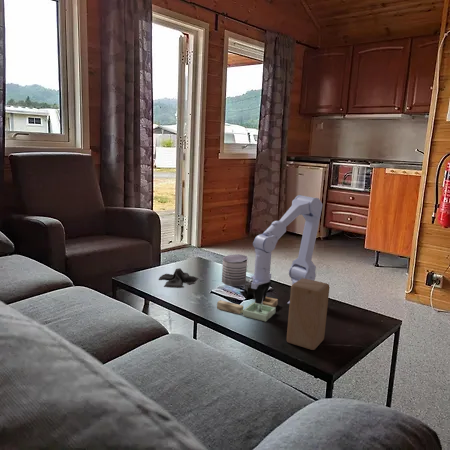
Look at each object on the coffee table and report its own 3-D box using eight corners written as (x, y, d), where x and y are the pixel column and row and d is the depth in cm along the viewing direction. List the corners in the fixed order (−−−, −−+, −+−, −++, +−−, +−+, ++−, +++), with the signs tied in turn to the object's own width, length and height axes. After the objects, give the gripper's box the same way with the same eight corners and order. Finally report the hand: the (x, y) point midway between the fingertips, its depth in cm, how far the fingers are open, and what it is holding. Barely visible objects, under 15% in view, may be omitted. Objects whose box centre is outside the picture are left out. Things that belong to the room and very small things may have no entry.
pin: (263, 310, 159) (264, 292, 157) (260, 312, 156) (262, 293, 155) (257, 309, 160) (258, 290, 158) (254, 311, 158) (256, 292, 156)
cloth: (169, 291, 179) (169, 277, 178) (150, 278, 194) (150, 266, 192) (212, 283, 191) (213, 270, 190) (192, 272, 206) (192, 260, 205)
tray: (275, 313, 160) (275, 307, 160) (266, 321, 152) (266, 315, 152) (252, 307, 164) (253, 302, 164) (242, 315, 156) (243, 310, 156)
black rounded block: (261, 301, 173) (262, 291, 172) (245, 302, 171) (245, 291, 170) (251, 290, 185) (252, 280, 184) (236, 291, 183) (236, 281, 182)
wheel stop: (243, 312, 159) (243, 305, 159) (240, 314, 157) (240, 307, 157) (219, 306, 164) (220, 300, 163) (216, 308, 162) (217, 302, 161)
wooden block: (314, 352, 131) (320, 291, 128) (284, 342, 137) (290, 284, 133) (324, 340, 140) (330, 283, 136) (296, 332, 145) (301, 276, 141)
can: (248, 286, 189) (249, 260, 187) (223, 286, 187) (224, 260, 185) (243, 278, 200) (245, 253, 198) (220, 277, 198) (221, 253, 196)
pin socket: (277, 304, 169) (277, 299, 168) (271, 310, 162) (271, 304, 162) (261, 301, 172) (261, 295, 171) (254, 306, 165) (254, 300, 165)
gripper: (260, 260, 163) (257, 293, 165) (244, 269, 150) (242, 305, 153) (277, 263, 160) (274, 297, 162) (262, 273, 147) (260, 309, 150)
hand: (260, 301), depth 157 cm, fingers closed on pin, 2 cm apart
